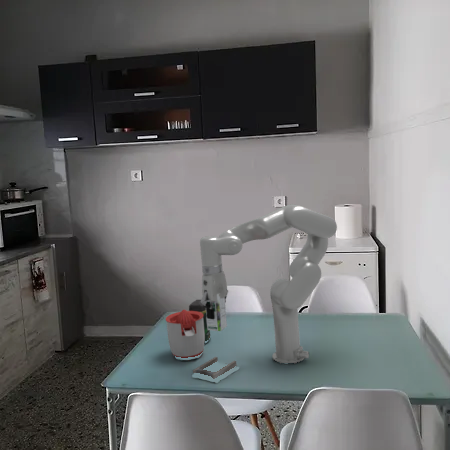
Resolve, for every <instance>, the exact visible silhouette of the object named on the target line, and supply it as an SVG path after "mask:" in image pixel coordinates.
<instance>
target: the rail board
mask: <svg viewBox="0 0 450 450" xmlns="http://www.w3.org/2000/svg"><path fill="white" fill-rule="evenodd" d="M217 361H218V362H219V358H218V356H214V357H212V358H211V359H209V360H208V361H206V362H205V363H203V364H201V365H200V366H197V367H196V368H194V369H193V370H192V374H193V373H200V374H204V375H208V376H211V377H212V378H213V379H215V378H217V377H218V376H220V375H222V374H224V373H225V372H227V371H229V370H230V369H232V368H234V367H235V366H238V365H237V361H236V360H232V361H231V362H230V363H227V364H228V365H227V366H225V367H223V368H222V369H220V370H219V371H217V372H211V371H207V370H203V369H204V368H206V367H208V366H210V365H212V364H213V363H215V362H217Z"/></svg>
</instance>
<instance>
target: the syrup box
mask: <svg viewBox="0 0 450 450" xmlns="http://www.w3.org/2000/svg"><path fill="white" fill-rule="evenodd" d="M219 294H220V293H218V294H217V301H215V302H213V308H212V309H214V317H215V319H208V318H207V329H208V330H210V331H214V332H221V331H223V330H225V328H227V327H228V322H227V311H226V303H225V297H224V298H220V295H219ZM208 300H209V299H208ZM208 304H209V305H210V302H209V303H208ZM206 315H207V312H206Z"/></svg>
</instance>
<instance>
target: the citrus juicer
mask: <svg viewBox="0 0 450 450" xmlns="http://www.w3.org/2000/svg"><path fill="white" fill-rule="evenodd" d="M203 316H204V315H203V314H202V313H201V312H198V311H189V310H187V309H182V310H181V311H178V312H174V313H172V314H168V316H166V317H165V321H166V329H167V337H168V339H167V340H168V346H169V348H170V351H171V354H172V356H173V355H174V356H176V357H181V358H188V357H195V356H198V355H200V354H201V353H202V352H203V353H204V349H205V344H204V343H205V333H204V322H203ZM203 353H202V354H203ZM174 356H173V357H174Z"/></svg>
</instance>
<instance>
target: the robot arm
mask: <svg viewBox="0 0 450 450" xmlns="http://www.w3.org/2000/svg"><path fill="white" fill-rule="evenodd" d="M292 228H293V229H296V230H299V231H300V232H304V233H306V234H307V238H306V242H305V244H304V245H303V247H302V248H301V250H300V251H299V252H298V253H297V255H296V256H295V258H294V259H293V260H292V261H291V263H290V264H289V266H288V274H289V276H290V278H291V279H290V280H289V279H286V278H279V279H276V280H275V281H274V282H273V283H272V284H271V286H270V290H269V291H270V292H269V293H270V295H269V296H270V302H271V307H272V312H273V313H272V316H273V327H274V328H273V330H274V340H275V341H274V345H275V352H273V353H272V357H271V359H272V361H274V360H275V361H277V362H280V363H279V364H281V363H294V364H297V362H298V363H300V361H301V362H303V360H305V359H309V357H310V355H309V353H310V351H308V350H304V348H303V347H304V346H301V344H300V343H301V342H300V328H299V326H300V325H299V312H298V309H299V308H301V307H302V306H303V305H304V304H305V302H306V301H307V299H308V298H309V297H310V296H311V294H312V293H313V291H314V290H315V289H316V288H317V287H318V285H319V283H320V282H321V279H322V270H321V267H320V265H319V264H320V263H321V261H322V259H323V258H324V256H325V254H326V252H327V251H328V248H329V247H328V246H329V238H332V237H333V236H334V235H335V234H336V233H337V230H338V224H337V222H336V220H335V219H334V217H332V216H329V215H328V214H327V215H326V214H323V213H321V212H318V211H315V210H312V209H310V208H307V207H305V206H302V205H298V204H293V203H292V204H287V205H284V206H283V207H280V208H278V209H276V210H273V211H272V212H270V213H267V214H265V215H263V216H261V217H257V218H255V219H252V220H250V221H246V222H244V223H240V224H239V225H236V226H234V227H231V228H229V229H227V230H225V231H223V232H221V234H220V235H219V236H216V235H208V236H204V237H202V238H201V239H200V240H199V247H200V256H201V267H202V268H201V269H202V278H201V291H202V292H201V293H202V297H201V298H200V300H201V303H202V304H203V306H204V307H205V309H206V312H207V318H208V319H215V317H214V309H212V308H213V302H215V301H217V294H218V293H220V294H219V295H220V298H224V297H225V304H226V302H227V300H226V299H227V297H228V293H229V290H228V285H227V279H226V274H225V272H224V271H225V270H223V260H222V256H235V255H238V254H239V253H240V252H241V251H242V249H243V244H247V243H248V242H252V241H258V240H260V241H261V240H268V239H270V238H272V237H274V236H277V235H279V234H281V233H283V232H286V231H287V230H290V229H292ZM208 299H209V300H208ZM209 302H210V305H209V304H208V303H209ZM275 361H274V362H275ZM277 362H276V363H277Z"/></svg>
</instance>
